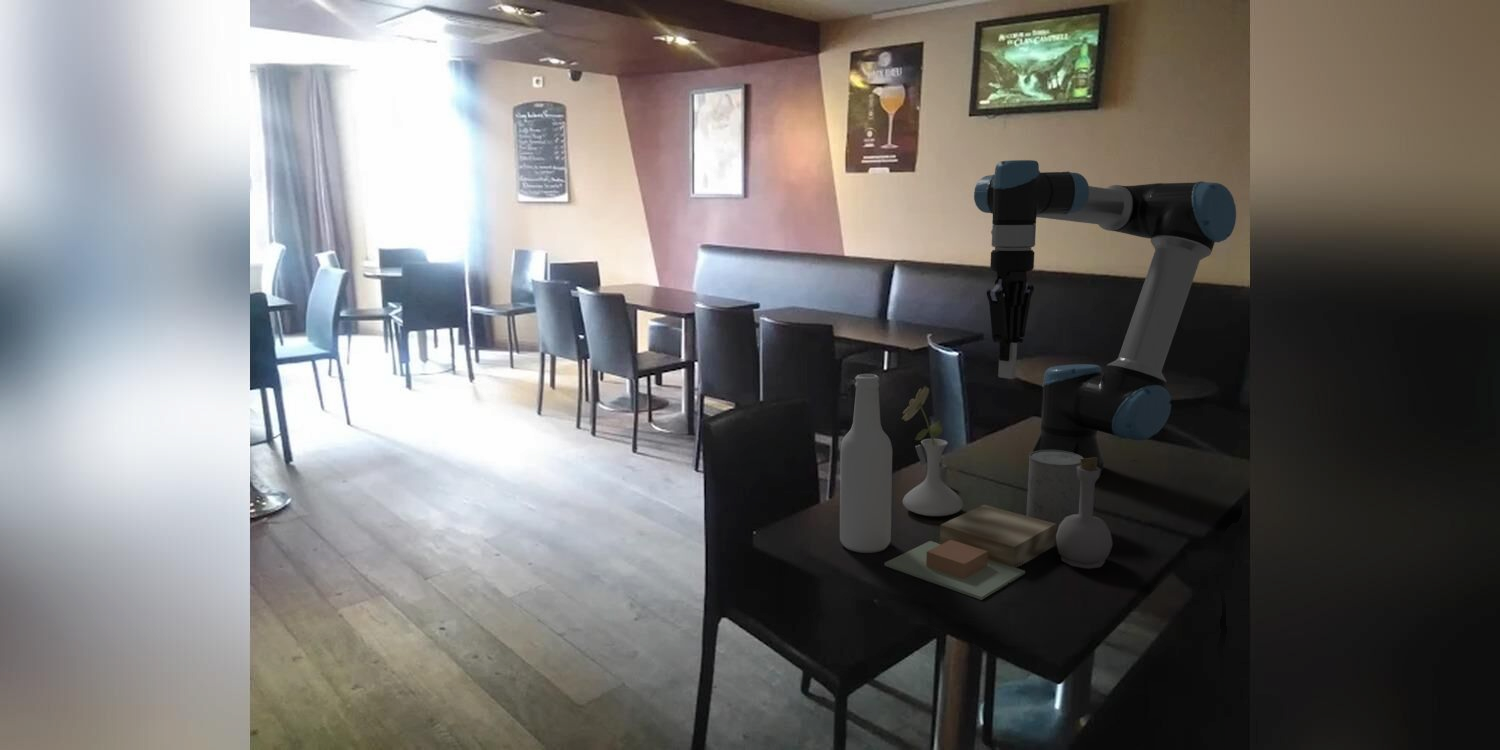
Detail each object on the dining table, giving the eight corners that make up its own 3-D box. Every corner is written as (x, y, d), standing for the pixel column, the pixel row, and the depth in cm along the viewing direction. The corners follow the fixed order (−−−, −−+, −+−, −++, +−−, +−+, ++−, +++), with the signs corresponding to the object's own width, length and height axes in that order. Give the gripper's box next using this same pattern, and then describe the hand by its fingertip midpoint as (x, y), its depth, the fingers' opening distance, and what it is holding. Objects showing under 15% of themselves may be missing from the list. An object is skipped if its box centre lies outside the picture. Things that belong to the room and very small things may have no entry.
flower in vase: (931, 497, 176) (935, 375, 171) (975, 513, 167) (980, 385, 162) (883, 510, 169) (885, 384, 164) (926, 528, 159) (930, 394, 154)
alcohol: (838, 534, 157) (839, 371, 151) (887, 534, 157) (890, 370, 151) (841, 554, 148) (842, 381, 142) (893, 554, 148) (897, 381, 142)
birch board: (982, 525, 161) (983, 504, 160) (1054, 545, 151) (1056, 523, 150) (939, 546, 151) (940, 524, 150) (1013, 570, 141) (1014, 546, 140)
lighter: (946, 485, 183) (947, 448, 181) (941, 487, 182) (942, 450, 180) (919, 477, 188) (920, 442, 186) (914, 479, 187) (915, 443, 185)
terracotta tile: (950, 553, 147) (950, 539, 146) (987, 565, 142) (987, 551, 141) (926, 566, 142) (926, 551, 141) (963, 579, 137) (964, 564, 137)
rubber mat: (929, 543, 152) (930, 540, 152) (1024, 573, 140) (1025, 570, 140) (884, 565, 144) (884, 562, 143) (981, 600, 131) (981, 596, 131)
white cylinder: (1083, 531, 157) (1088, 466, 155) (1028, 528, 159) (1031, 463, 156) (1075, 513, 166) (1079, 450, 164) (1023, 510, 168) (1026, 448, 166)
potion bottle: (1082, 575, 139) (1089, 466, 135) (1043, 555, 147) (1048, 452, 143) (1123, 565, 142) (1131, 459, 139) (1083, 546, 150) (1089, 445, 147)
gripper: (1012, 246, 164) (1006, 369, 169) (974, 249, 155) (969, 380, 160) (1049, 247, 159) (1042, 374, 163) (1013, 251, 150) (1007, 385, 154)
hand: (1006, 377), depth 162 cm, fingers closed
